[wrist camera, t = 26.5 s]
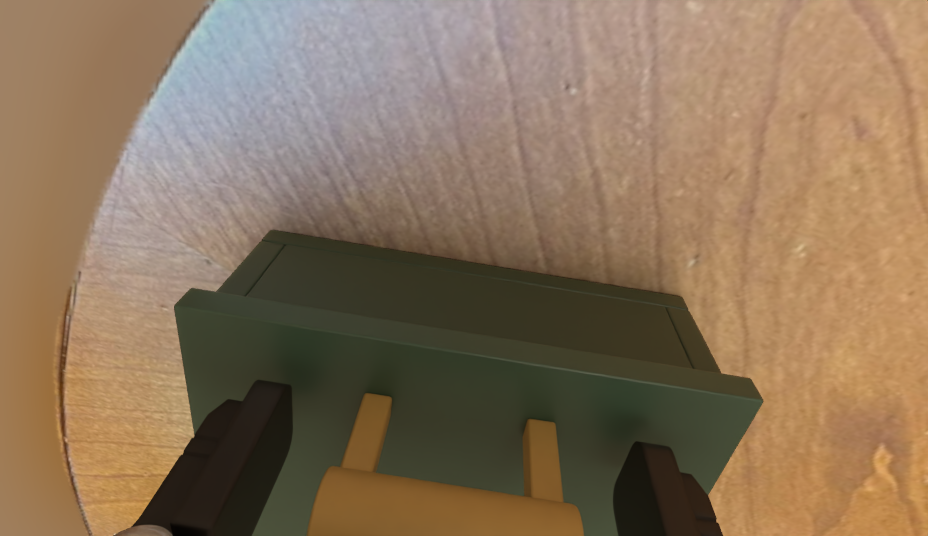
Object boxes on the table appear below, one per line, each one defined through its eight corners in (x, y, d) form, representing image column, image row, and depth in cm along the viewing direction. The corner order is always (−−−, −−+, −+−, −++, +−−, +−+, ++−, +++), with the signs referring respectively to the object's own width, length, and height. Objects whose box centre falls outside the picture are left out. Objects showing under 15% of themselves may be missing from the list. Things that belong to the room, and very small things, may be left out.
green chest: (270, 228, 17) (194, 314, 13) (683, 295, 17) (738, 401, 13) (283, 521, 25) (239, 632, 21) (566, 566, 25) (578, 684, 21)
